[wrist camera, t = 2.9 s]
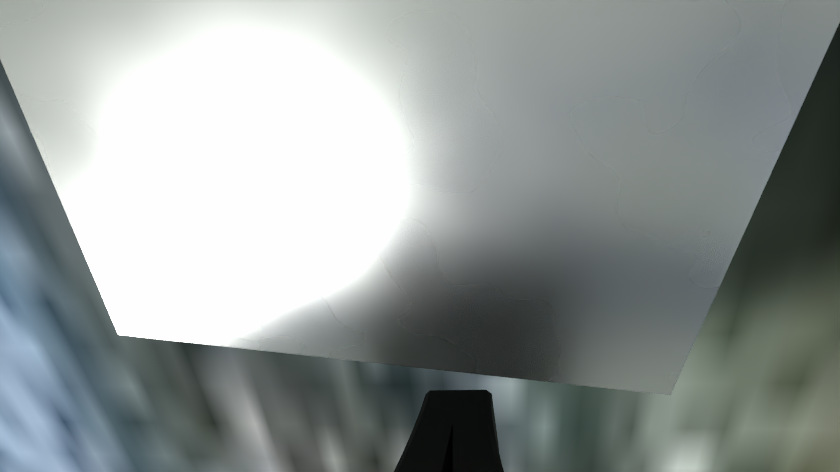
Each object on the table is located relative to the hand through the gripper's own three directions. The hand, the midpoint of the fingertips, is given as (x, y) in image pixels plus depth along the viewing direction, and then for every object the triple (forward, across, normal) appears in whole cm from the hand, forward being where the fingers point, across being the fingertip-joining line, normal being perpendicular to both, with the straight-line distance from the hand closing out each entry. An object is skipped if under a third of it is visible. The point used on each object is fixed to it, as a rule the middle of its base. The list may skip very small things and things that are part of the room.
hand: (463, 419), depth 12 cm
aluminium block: (+2, 0, -7) cm, 7 cm away
